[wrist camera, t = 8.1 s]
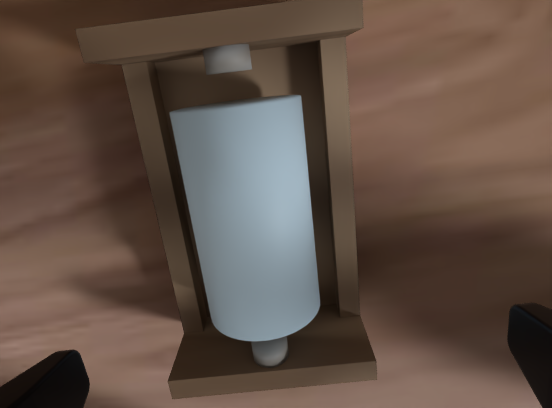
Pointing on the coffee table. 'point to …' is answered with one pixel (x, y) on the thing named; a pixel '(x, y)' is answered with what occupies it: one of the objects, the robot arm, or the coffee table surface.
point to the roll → (251, 213)
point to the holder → (320, 159)
